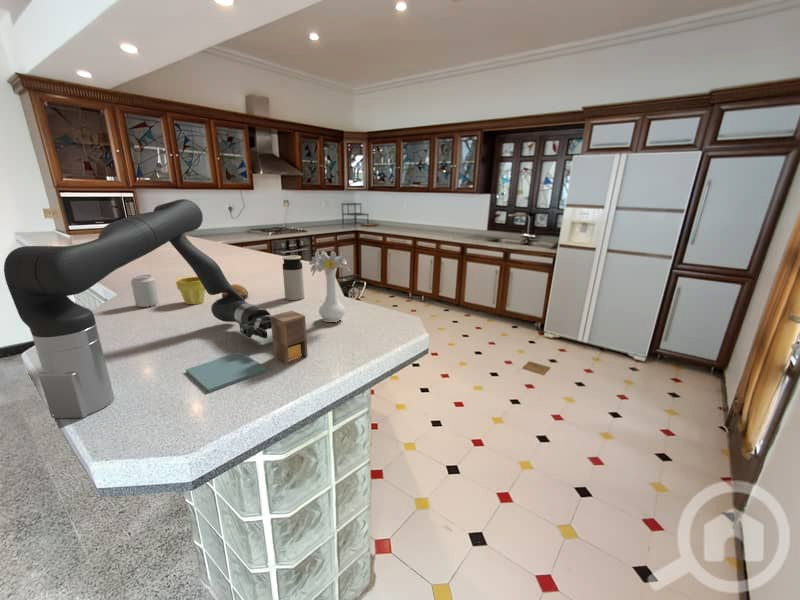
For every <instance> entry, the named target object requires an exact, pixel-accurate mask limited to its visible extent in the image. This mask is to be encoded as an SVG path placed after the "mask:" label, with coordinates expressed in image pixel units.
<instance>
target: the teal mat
mask: <svg viewBox="0 0 800 600" xmlns="http://www.w3.org/2000/svg"><path fill="white" fill-rule="evenodd" d="M185 371H186V374H188V375H189V376H190V378H192V379H193V381H195V382H196V383H197V384H199V386H201V388H203V389H204V390H205V391H206V392H207V393H209V394H210V393H212V392H215V391H218V390H221V389H223V388H226V387H228V386H231V385H233V384H236V383H239V382H241V380H242V381H244V380H247V379H250V378H252V377H255V376H257V375H260V374H263V373H266V372H268V368H267V367H266V366H264V365H263V364H261V363H260V362H258V361H256V360H255V359H253V358H252V357H250V356H248V354H246V353H244V352H242V351H240V352H237V353H233V354H230V355H227V356H224V357H220V358H217V359H215V360H212V361H207V362H205V363H201V364H199V365H196V366H191V367H188V368H186V369H185ZM246 378H247V379H246Z"/></svg>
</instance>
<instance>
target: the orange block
mask: <svg viewBox="0 0 800 600" xmlns="http://www.w3.org/2000/svg"><path fill="white" fill-rule="evenodd" d="M300 356H302V355H301V344H300V343H296V344H293V345H290V346H288V357H289V360H292V359H295V358H297V357H300ZM300 358H301V357H300ZM297 359H298V358H297ZM295 360H296V359H295ZM292 361H293V360H292Z"/></svg>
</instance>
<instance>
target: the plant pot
mask: <svg viewBox="0 0 800 600" xmlns="http://www.w3.org/2000/svg"><path fill="white" fill-rule="evenodd" d="M175 282H176V287H177V290H179V292H180V293H181V296H182V298H183V300H184V303H185V304H186V305H188V304H194V305H199V303H200V304H202V302H203V303H204V302H205V297H206V296H205V295H206V290H205V288H204V286H203V285H202V283H201V281H200V280H199V278H198V277H197V276H188V277H181V278H179V279H176V281H175Z"/></svg>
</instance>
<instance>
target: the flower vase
mask: <svg viewBox="0 0 800 600" xmlns="http://www.w3.org/2000/svg"><path fill="white" fill-rule="evenodd" d="M347 263H348V262H347V260H346V257H345V256H343V252H342V251H340V254H339V255H338V256H337V253H336V251H334V250H332V251H331V252H330V255H328V253H327V252H326V251H324V250H322V251H321V253H320V252H319V251H316V252H315V253H314V256H312V257H311V261H309V262H308V264H309V265H310V266H311V268H310V272H312V277H314V275H315V273H316V272H319V273H320V272H322V271H324V273H325V278H326V279H325V280H326V297H325V300H324V302H323V303H322V304H321V306H320V307H319V308H318V315H319V316H320V317H321V318H322V319H323V322H325V321H326V322H325V323H327V322H336V321H339V320H342V318H343V317H344V316H345V314H346V307H345V306H344V305H343V303H341V302H340V300H339V298H338V295H337V288H336V275H337V274H336V273H337V270H338V268H345V269H346V270H347V271H349V272H351V270H350V268H349V267H348V266H347ZM339 322H340V321H339ZM336 323H337V322H336Z"/></svg>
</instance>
